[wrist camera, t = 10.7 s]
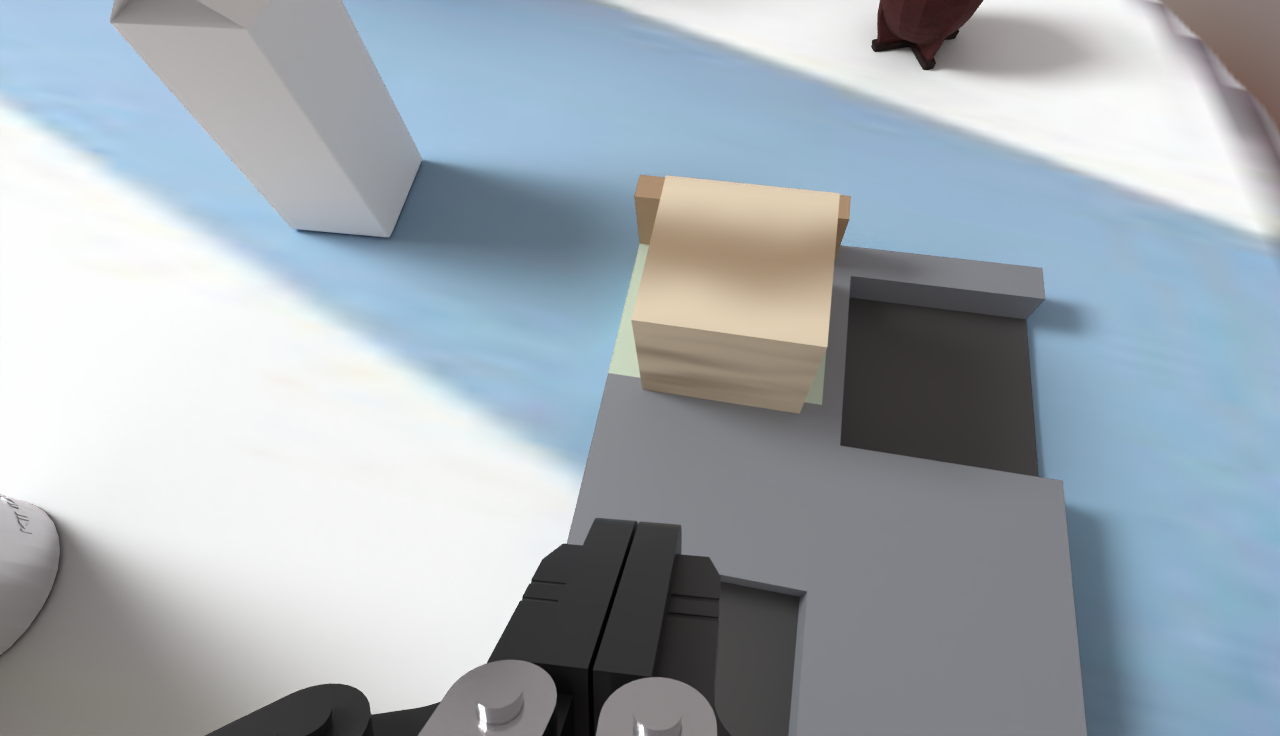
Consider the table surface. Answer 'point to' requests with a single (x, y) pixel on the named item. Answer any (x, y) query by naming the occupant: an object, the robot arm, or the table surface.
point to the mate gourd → (921, 25)
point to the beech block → (736, 292)
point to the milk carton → (285, 103)
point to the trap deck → (866, 510)
